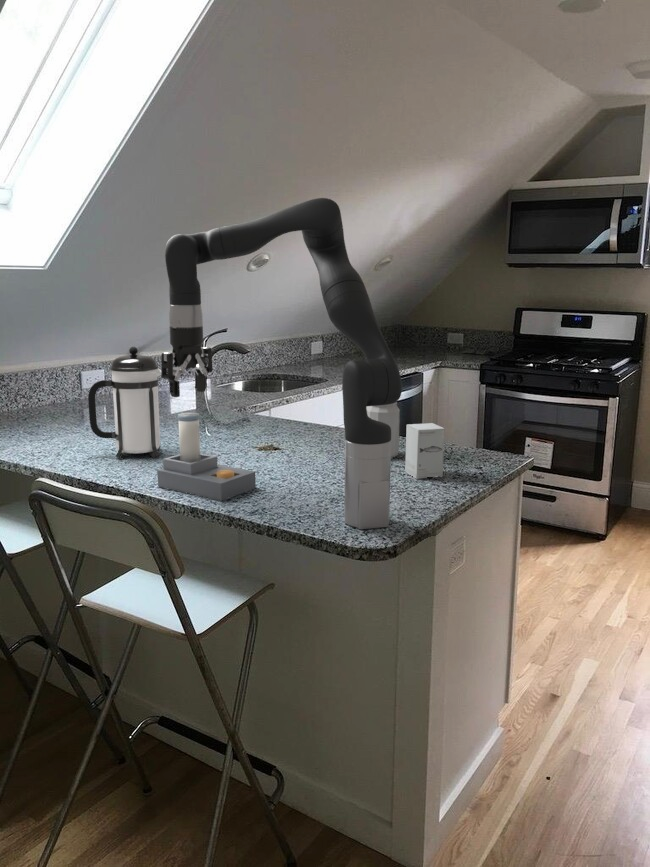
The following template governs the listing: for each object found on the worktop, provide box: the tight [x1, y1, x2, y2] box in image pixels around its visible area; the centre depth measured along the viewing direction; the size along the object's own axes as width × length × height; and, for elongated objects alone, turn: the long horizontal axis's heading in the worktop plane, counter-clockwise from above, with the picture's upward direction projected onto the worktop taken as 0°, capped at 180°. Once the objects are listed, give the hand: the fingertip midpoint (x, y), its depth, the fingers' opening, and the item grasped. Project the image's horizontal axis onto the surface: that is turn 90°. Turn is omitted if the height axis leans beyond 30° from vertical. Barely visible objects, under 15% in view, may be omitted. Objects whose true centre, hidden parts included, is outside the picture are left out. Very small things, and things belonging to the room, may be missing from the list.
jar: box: [366, 401, 401, 459], centre depth 203 cm, size 10×10×18 cm
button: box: [217, 470, 234, 479], centre depth 171 cm, size 4×4×4 cm
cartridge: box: [177, 412, 201, 463], centre depth 175 cm, size 5×5×13 cm
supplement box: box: [404, 422, 445, 480], centre depth 184 cm, size 7×7×13 cm
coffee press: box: [87, 346, 162, 460], centre depth 202 cm, size 17×16×30 cm
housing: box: [156, 452, 257, 502], centre depth 174 cm, size 20×12×6 cm, turn 56°
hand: (188, 394), depth 173 cm, fingers open, 8 cm apart
